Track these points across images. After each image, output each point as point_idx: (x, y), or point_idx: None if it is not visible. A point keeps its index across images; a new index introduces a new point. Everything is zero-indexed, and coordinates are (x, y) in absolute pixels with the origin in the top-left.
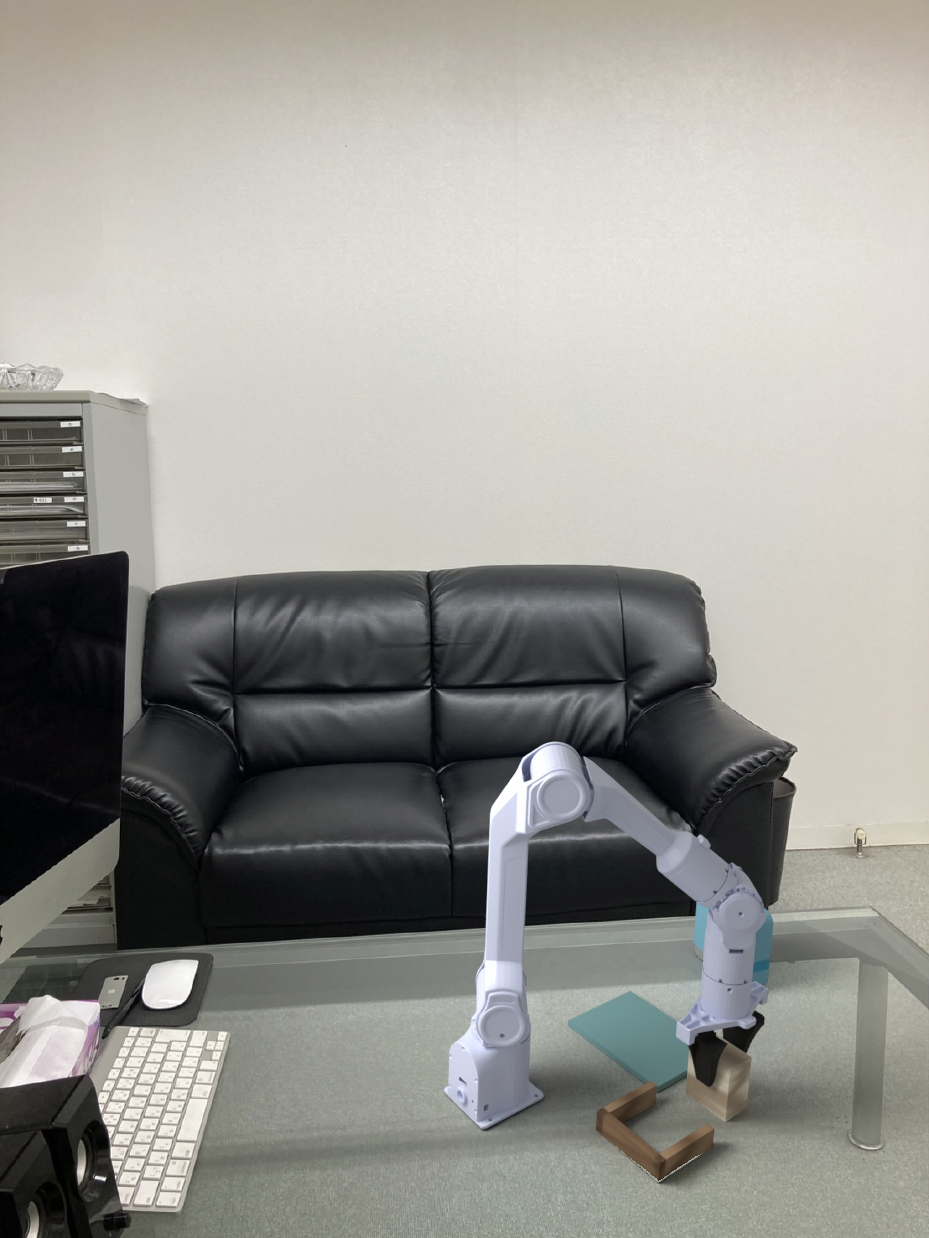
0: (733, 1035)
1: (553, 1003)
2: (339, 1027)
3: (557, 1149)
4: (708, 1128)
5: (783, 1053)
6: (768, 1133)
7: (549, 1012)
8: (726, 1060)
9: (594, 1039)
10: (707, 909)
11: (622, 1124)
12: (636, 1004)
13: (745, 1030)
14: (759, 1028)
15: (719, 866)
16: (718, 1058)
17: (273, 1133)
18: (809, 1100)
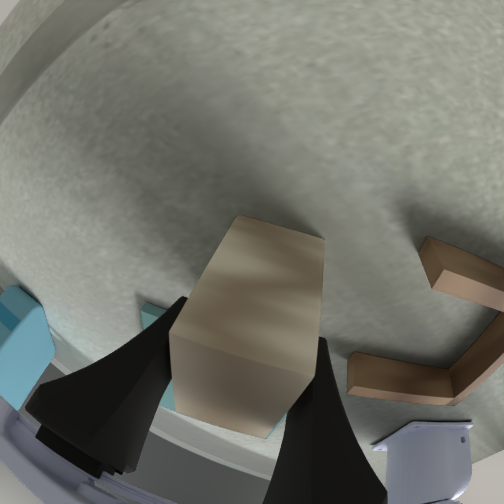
0: (150, 397)
1: (244, 440)
2: (383, 478)
3: (488, 383)
4: (450, 280)
5: (55, 218)
6: (288, 133)
7: (261, 441)
8: (267, 388)
9: (277, 424)
10: (18, 394)
11: (476, 380)
12: (171, 401)
13: (122, 420)
14: (66, 387)
15: None
16: (320, 430)
17: (487, 451)
18: (103, 115)
